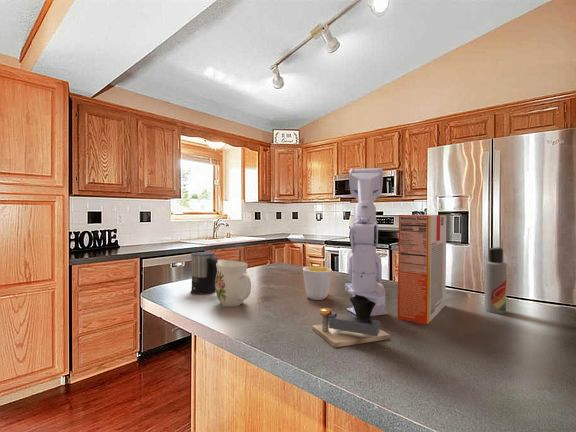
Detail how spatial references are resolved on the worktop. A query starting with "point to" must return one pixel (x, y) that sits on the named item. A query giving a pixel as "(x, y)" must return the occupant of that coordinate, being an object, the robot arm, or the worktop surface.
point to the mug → (317, 282)
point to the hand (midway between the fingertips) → (363, 326)
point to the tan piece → (344, 335)
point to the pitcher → (232, 282)
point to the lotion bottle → (495, 282)
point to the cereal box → (421, 267)
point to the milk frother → (203, 272)
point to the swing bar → (351, 323)
